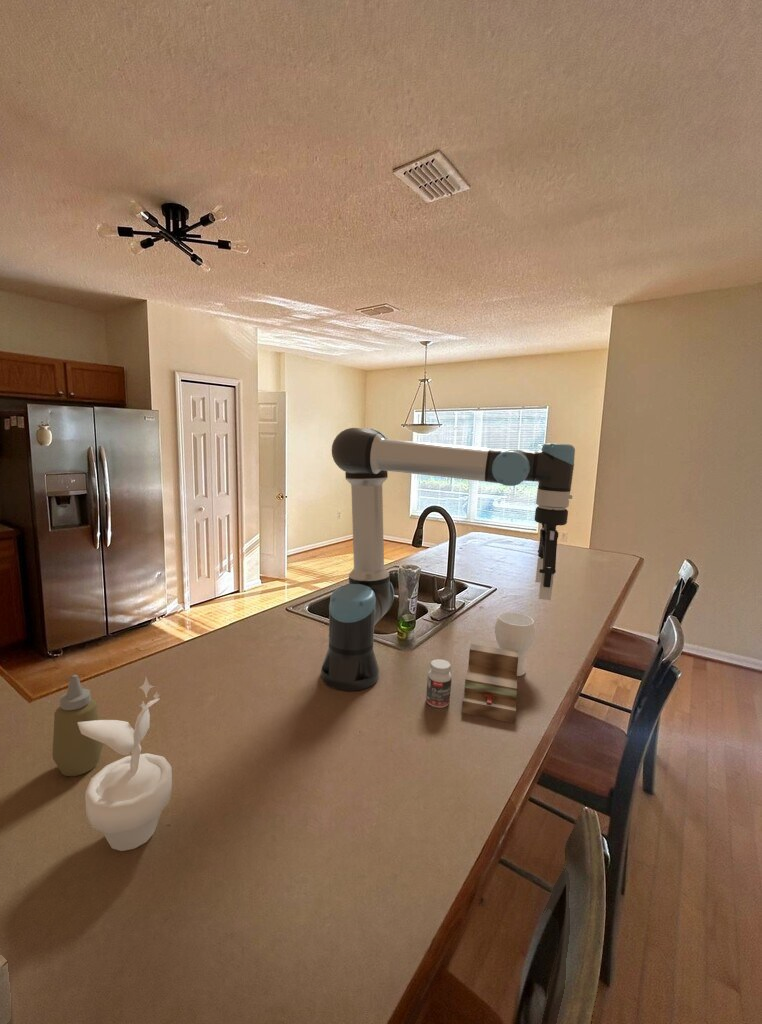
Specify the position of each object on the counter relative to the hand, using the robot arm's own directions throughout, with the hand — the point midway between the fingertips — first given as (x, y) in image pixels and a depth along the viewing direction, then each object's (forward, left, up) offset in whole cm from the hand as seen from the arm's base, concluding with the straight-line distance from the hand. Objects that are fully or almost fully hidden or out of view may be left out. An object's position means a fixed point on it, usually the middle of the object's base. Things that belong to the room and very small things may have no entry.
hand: (542, 590), depth 116 cm
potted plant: (-62, -69, -26) cm, 97 cm away
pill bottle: (-22, -16, -26) cm, 38 cm away
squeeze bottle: (-82, -60, -26) cm, 105 cm away
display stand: (-10, -10, -26) cm, 30 cm away
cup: (-5, +7, -26) cm, 28 cm away
